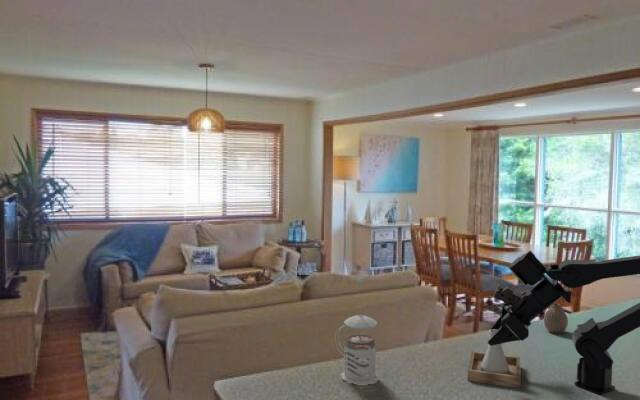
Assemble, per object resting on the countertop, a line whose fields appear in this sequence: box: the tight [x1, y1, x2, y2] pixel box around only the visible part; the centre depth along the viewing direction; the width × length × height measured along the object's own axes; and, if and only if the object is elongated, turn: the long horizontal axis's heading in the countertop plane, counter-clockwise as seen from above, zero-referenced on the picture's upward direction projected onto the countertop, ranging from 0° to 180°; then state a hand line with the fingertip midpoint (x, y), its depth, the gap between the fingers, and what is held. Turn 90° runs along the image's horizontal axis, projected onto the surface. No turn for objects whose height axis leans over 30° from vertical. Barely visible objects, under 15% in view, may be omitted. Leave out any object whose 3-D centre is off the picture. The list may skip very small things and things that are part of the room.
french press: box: [334, 276, 380, 386], centre depth 125 cm, size 10×12×25 cm
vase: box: [543, 303, 569, 335], centre depth 162 cm, size 7×7×9 cm
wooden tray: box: [467, 350, 522, 389], centre depth 129 cm, size 12×14×2 cm
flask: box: [480, 329, 509, 374], centre depth 128 cm, size 7×7×10 cm
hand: (489, 338), depth 129 cm, fingers open, 9 cm apart
